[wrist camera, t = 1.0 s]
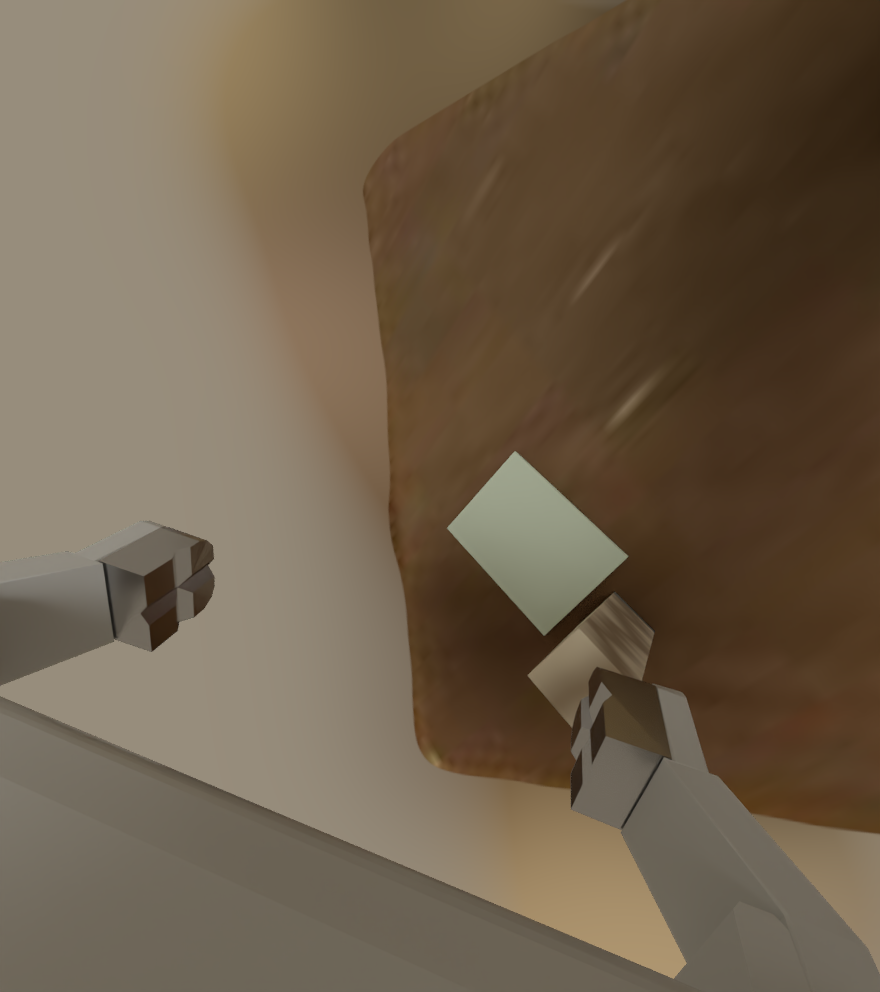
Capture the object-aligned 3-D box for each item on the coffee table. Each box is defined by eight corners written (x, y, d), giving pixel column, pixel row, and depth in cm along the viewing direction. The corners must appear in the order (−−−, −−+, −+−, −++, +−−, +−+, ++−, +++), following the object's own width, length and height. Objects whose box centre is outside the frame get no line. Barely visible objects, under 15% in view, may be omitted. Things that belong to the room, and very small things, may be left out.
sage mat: (628, 556, 46) (628, 556, 46) (545, 634, 49) (544, 635, 49) (516, 451, 52) (514, 450, 52) (448, 528, 55) (446, 528, 55)
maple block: (654, 631, 45) (638, 691, 29) (616, 663, 46) (581, 738, 30) (614, 591, 47) (578, 628, 31) (579, 624, 48) (527, 675, 32)
